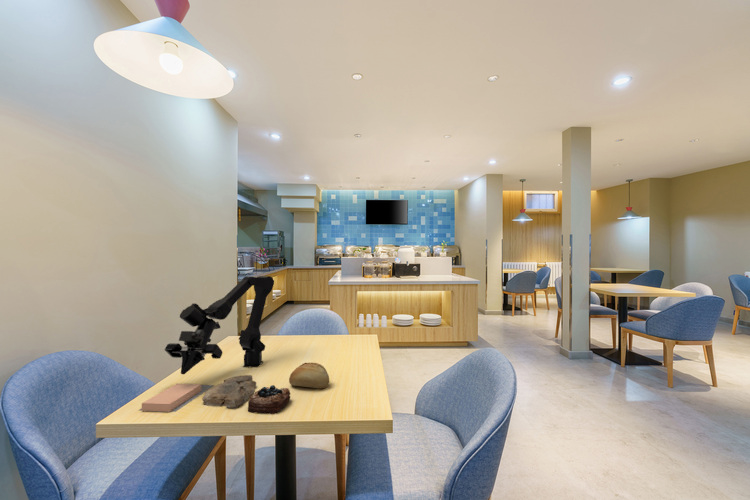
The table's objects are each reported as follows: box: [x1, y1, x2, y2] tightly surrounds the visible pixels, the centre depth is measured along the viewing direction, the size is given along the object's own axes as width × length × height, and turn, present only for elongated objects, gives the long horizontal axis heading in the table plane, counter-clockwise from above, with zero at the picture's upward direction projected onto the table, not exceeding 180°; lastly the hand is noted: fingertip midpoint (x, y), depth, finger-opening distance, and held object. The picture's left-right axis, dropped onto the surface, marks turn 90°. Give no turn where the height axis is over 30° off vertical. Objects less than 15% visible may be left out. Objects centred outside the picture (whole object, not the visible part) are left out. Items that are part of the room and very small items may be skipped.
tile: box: [141, 383, 202, 413], centre depth 103 cm, size 2×9×15 cm
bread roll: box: [288, 362, 330, 389], centre depth 116 cm, size 10×15×8 cm, turn 83°
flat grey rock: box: [201, 374, 257, 409], centre depth 108 cm, size 14×5×20 cm
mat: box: [139, 384, 215, 413], centre depth 106 cm, size 20×12×1 cm, turn 175°
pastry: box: [247, 384, 291, 415], centre depth 100 cm, size 11×12×6 cm
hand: (182, 373), depth 107 cm, fingers closed
